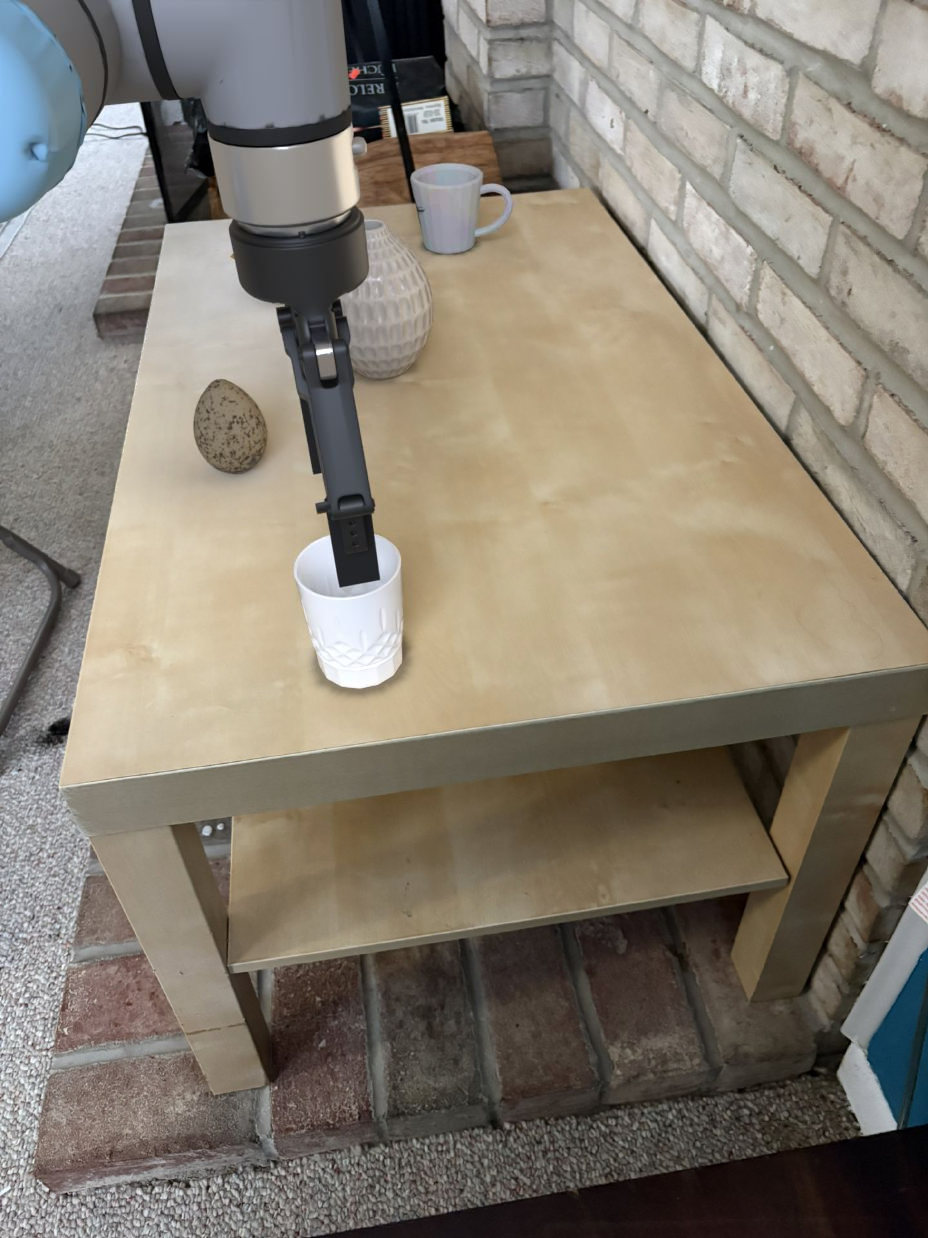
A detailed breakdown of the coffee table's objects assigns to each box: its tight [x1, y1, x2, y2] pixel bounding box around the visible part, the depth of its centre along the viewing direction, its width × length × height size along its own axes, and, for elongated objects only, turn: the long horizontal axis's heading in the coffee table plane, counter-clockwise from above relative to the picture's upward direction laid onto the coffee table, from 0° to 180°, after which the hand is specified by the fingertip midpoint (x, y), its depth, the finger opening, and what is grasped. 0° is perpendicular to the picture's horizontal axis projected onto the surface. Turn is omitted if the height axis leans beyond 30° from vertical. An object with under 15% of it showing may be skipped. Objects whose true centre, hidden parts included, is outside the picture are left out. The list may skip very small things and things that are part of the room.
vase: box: [338, 218, 434, 380], centre depth 105 cm, size 13×13×17 cm
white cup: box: [292, 533, 404, 690], centre depth 71 cm, size 8×8×10 cm
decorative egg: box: [192, 378, 268, 475], centre depth 92 cm, size 7×7×10 cm
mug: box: [409, 162, 515, 255], centre depth 134 cm, size 10×15×10 cm
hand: (343, 521), depth 65 cm, fingers open, 13 cm apart
